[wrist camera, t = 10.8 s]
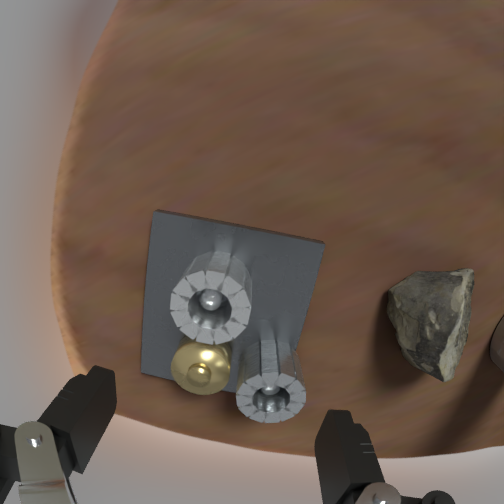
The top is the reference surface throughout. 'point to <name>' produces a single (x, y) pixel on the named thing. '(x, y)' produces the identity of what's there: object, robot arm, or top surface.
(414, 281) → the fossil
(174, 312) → the planet gear
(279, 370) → the grey hollow pipe
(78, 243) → the top surface
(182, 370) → the carrier
